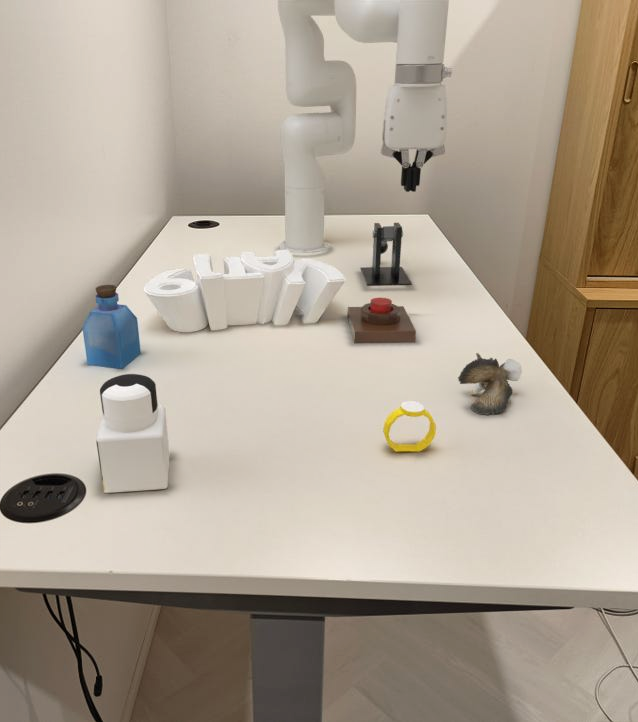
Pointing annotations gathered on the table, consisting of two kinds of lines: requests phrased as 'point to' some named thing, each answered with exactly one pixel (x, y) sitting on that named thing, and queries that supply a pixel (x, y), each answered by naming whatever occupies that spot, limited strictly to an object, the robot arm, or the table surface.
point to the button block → (381, 325)
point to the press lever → (386, 237)
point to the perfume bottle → (110, 331)
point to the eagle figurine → (490, 383)
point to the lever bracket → (395, 272)
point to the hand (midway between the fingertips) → (409, 190)
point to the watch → (414, 411)
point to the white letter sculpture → (244, 291)
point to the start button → (380, 305)
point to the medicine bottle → (132, 436)
